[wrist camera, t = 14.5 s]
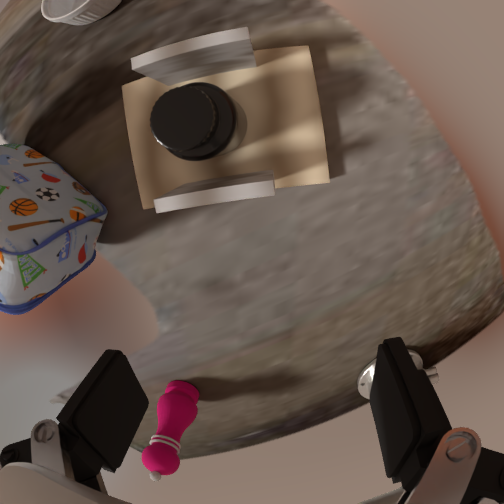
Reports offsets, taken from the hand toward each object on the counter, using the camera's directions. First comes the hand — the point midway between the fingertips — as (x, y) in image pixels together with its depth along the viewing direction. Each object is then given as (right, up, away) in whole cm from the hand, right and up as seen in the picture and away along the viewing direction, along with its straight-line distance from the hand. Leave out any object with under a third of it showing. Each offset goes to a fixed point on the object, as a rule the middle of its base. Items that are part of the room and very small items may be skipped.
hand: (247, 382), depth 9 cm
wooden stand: (-3, +19, +21) cm, 28 cm away
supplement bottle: (-4, +18, +19) cm, 27 cm away
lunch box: (-31, +14, +25) cm, 42 cm away
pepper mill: (-13, -21, +38) cm, 45 cm away
